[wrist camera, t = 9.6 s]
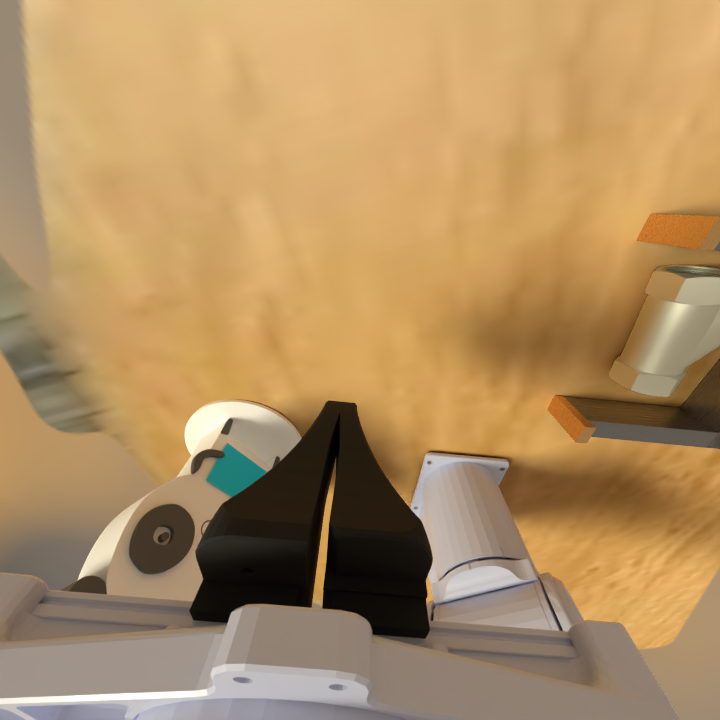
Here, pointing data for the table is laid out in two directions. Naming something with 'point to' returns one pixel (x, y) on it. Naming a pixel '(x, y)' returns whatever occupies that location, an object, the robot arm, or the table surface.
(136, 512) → the panda figurine
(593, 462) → the table surface
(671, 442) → the grey u-shaped frame
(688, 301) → the pipe fitting
